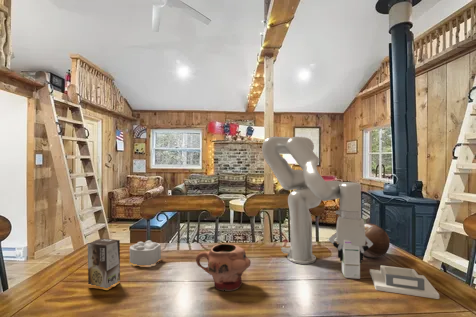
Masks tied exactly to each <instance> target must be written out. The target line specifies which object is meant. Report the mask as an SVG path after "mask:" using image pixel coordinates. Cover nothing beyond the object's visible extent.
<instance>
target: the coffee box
mask: <svg viewBox="0 0 476 317" xmlns="http://www.w3.org/2000/svg"><path fill="white" fill-rule="evenodd" d="M120 241H121V240H120V239H113V238H111V239H110V238H103V237H102V238H98V239H95V240H93V241H90V242H87V282H88V284H91V285H96V286H100V287H104V288H108V287H110V286H111V285H113V284H115V283H117V282H118V281H120V282H121V251H120V250H121V247H120V246H121V245H120V243H121V242H120ZM88 284H87V285H88Z"/></svg>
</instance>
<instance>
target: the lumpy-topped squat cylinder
mask: <svg viewBox="0 0 476 317" xmlns="http://www.w3.org/2000/svg"><path fill="white" fill-rule="evenodd" d="M161 248H162V246H161V244H160V243H158V242H155V241H152V240H146V241H145V242H143V241H137V243H134V244H132V245H130V246H129V263H130V262H131V263H133V264H137V265H151V264H154V263H156V262H157V261H158V260H159V259H161V260H162V258H161V257H162V250H161Z"/></svg>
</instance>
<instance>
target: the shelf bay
mask: <svg viewBox="0 0 476 317" xmlns="http://www.w3.org/2000/svg"><path fill="white" fill-rule="evenodd" d="M369 274H370V277H371V280H372V283H373V287H374V288H375V290H376V291H381V292H387V293H396V294H401V295H408V296H416V297H422V298H428V299H435V300H436V299H437V300H440V293H439V292H438V291H437V290H436V289H435V287H434V286H433V285H432V284H431V282H430V281H429V280H428V278H426V276H425V275H423V274H422V275H421V274H418V272H417V271H416V270H415V269H414V268H406V267H398V266H389V265H382V264H381V265H380V269H372V268H369Z"/></svg>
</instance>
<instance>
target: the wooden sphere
mask: <svg viewBox="0 0 476 317" xmlns="http://www.w3.org/2000/svg"><path fill="white" fill-rule="evenodd" d="M364 226H365V236H366V237H367V238H368V239H369V240H370V241H371V242H372V243H373V245H372V246H371V247H369V248H368V249H367V250H366V251H365V252H364V253H363V256H365V257H367V258H373V259H375V258H380V257H382V256H384V255H385V254H387V252H388V251H389V249H390V245H391V243H390V242H391V240H390V237H389V235H388V233H387V231H385V229H384V228H382V227H381V226H380V225H378V224H376V223H370V222H369V223H364ZM366 244H367V242H366V241H365V245H366ZM362 247H363V246H362Z"/></svg>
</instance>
